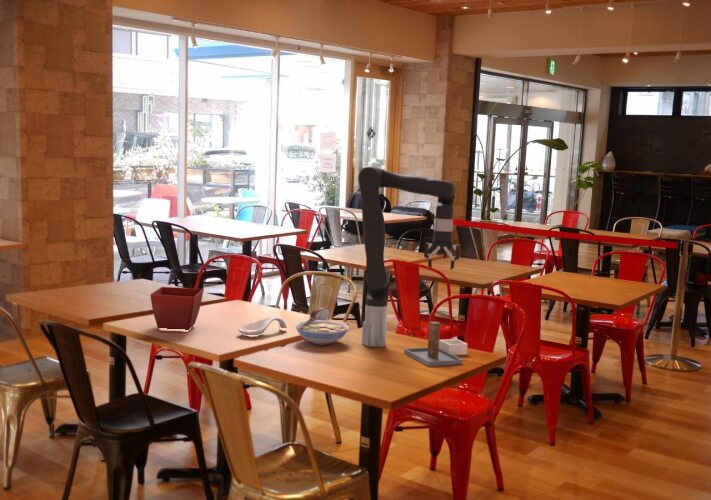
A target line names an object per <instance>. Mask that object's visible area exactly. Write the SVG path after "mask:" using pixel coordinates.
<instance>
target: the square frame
mask: <svg viewBox="0 0 711 500" xmlns="http://www.w3.org/2000/svg"><path fill="white" fill-rule="evenodd" d="M439 348H441V349H443V350H445V351H447V352H449V353H451V354H453V355H455V356H462V355H463V356H464V355H468V343H467V342H464V341H462V340H460V339H458V338H451V339H450V338H449V339H439Z"/></svg>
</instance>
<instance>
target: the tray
mask: <svg viewBox="0 0 711 500" xmlns="http://www.w3.org/2000/svg"><path fill="white" fill-rule="evenodd" d="M403 353H404V355H407V356H409V357H410V358H412V359H415V360H416V361H417V362H420V363H422V364H424V365H425V366H426V367H440V366H441V367H442V366H454V365H456V366H457V365H463V363H464V359H462V358H460V357H459V356H458V355H453V354H451V353H449V352H447V351H445V350H443V349H441V348H439V353H438V358H430V357H428V356H427V355H428V346H427V347H426V346H425V347H413V348H411V347H410V348H404V349H403Z"/></svg>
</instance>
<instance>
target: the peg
mask: <svg viewBox="0 0 711 500" xmlns="http://www.w3.org/2000/svg"><path fill="white" fill-rule="evenodd" d="M428 323H429V324H428V325H429V326H428V339H427V340H428V343H427V347H428V355H427V356H428V357H430V358H438V353H439V340H440V336H441V335H440V334H441V332H440V331H441V322H438V321H429V322H428Z"/></svg>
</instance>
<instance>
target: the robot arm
mask: <svg viewBox="0 0 711 500" xmlns="http://www.w3.org/2000/svg"><path fill="white" fill-rule="evenodd" d="M357 179H358V186H359V190H360V191H359V192H360V196H361V217H362V218H361V219H362V220H361V221H362V233H363V243H364V244H363V245H364V252H365V261H366V262H365V270H366V271H365V281H366V285H367V290H366V291H367V292H366V295H365V296H366V297H365V310H364V311H365V312H364V321H363V322H362V331H361V333H362V334H361V344H362V345H364V346H366V347H367V348H368V347H369V348H370V347H371V348H381V347H382V348H383V347H385V346H386V343H387V337H386V336H387V319H388V304H389V303H388V302H389V298H390V297H389V294H390V281H391V280H390V278H391V277H390V273H389V271H388V270H387V268H386V267H385V259H384V256H385V255H384V254H385V246H386V226H385V225H386V223H385V222H386V221H385V217H384V212H383V209H382V207H381V202H380V188H389V189H395V190H400V191H404V192H407V193H411V194H418V195H424V196H425V195H427V196H431V197H434V198H435V197H436V198H437V205H436V207H435V217H434V218H435V219H434V225H433V240H432V241H433V242H432V243H429V242H425V247H424V255H423V258H426V259H428V261H427V266H428V268H429V269H432V265H433V259H432V258H433V257H434V256H435V255H436V254H437V255H447V256H448V257H449V258H450V259H451V260H450V269H449V270H450V271H453V269H454V268H455V261H457V260H459V259H460V244H453V229H454V220H453V218H454V203H455V198H456V197H455V196H456V187H455V184H454V183H453V182H452V181H450V180H441V179H440V180H439V179H431V178H429V177H424V176H419V175H411V174H403V173H394V172H391V171H388V170H384V169H381V168H378V167H376V166H374V165H373V166H372V165H369V166H365V167H363V168H362V169H361V170H360V171H359V173H358V177H357ZM431 247H432V249H433V251H432V252H431V253H430V255H429V254H428V253H429V249H430V248H431ZM452 249H453V250H454V251H455V256H454V255H453V254H452V252H451V250H452Z"/></svg>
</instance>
